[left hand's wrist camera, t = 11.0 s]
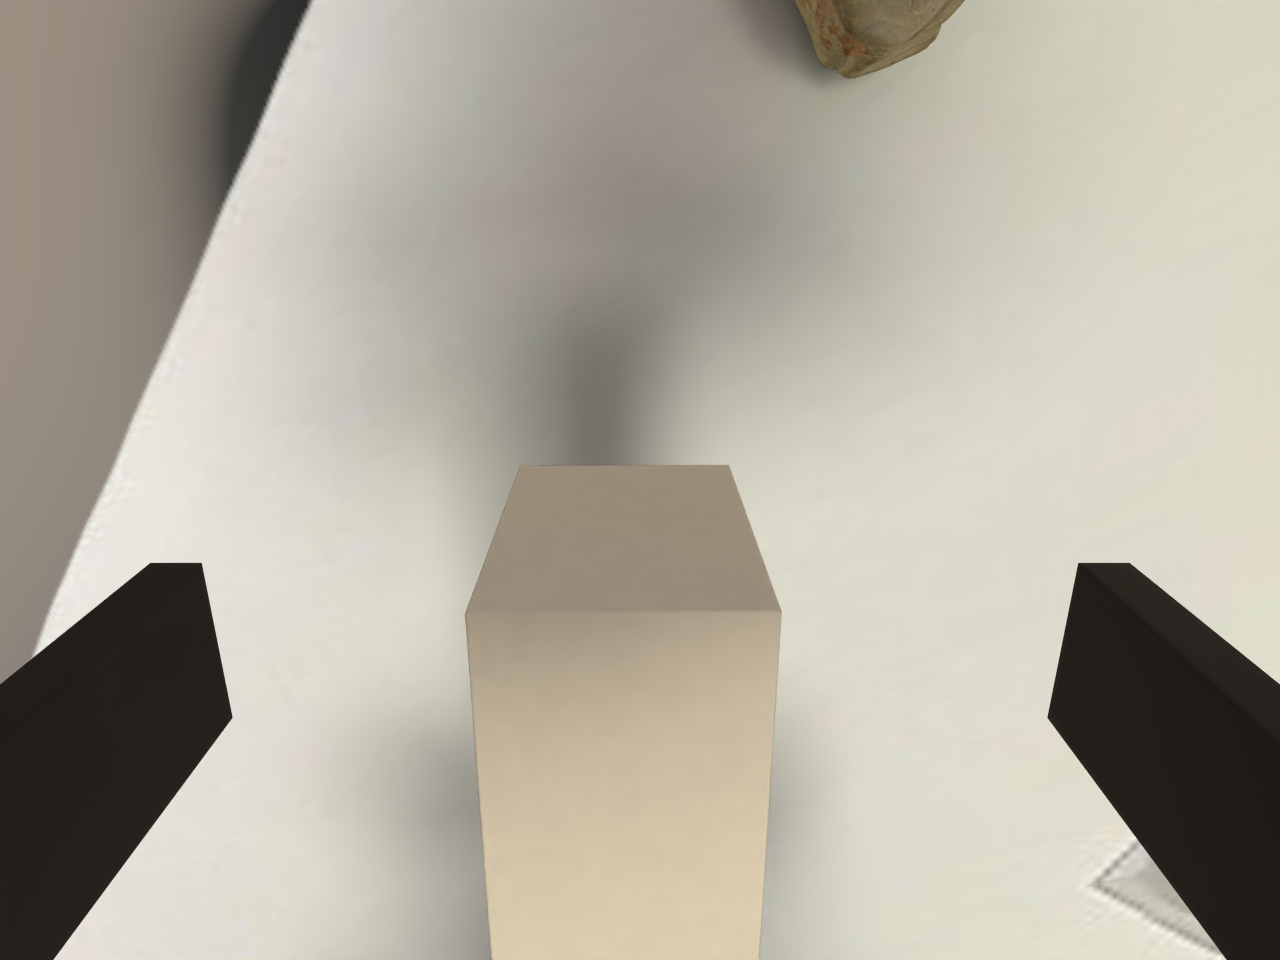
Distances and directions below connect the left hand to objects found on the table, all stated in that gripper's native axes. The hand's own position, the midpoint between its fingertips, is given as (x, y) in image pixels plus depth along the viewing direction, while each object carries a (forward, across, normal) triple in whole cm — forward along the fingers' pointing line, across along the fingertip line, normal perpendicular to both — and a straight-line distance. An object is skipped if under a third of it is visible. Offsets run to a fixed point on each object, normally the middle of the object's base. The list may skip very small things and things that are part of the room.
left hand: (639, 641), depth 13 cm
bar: (+11, 0, -14) cm, 18 cm away
